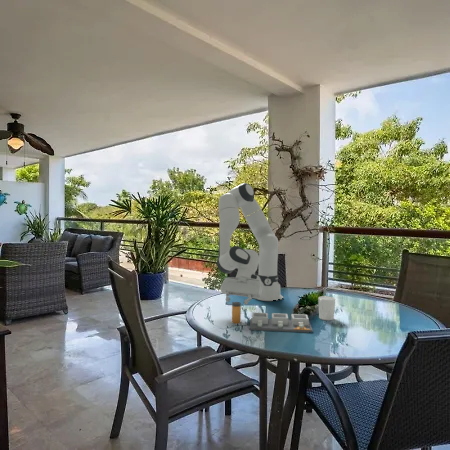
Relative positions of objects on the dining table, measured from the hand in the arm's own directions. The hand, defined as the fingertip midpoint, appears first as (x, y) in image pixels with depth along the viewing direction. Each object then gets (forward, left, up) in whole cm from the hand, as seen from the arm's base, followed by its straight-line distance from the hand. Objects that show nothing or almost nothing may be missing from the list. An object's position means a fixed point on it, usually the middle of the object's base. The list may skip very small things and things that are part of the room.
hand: (236, 302), depth 169 cm
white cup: (-9, +43, -9) cm, 45 cm away
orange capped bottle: (+3, 0, -8) cm, 9 cm away
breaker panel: (+6, +20, -8) cm, 23 cm away
